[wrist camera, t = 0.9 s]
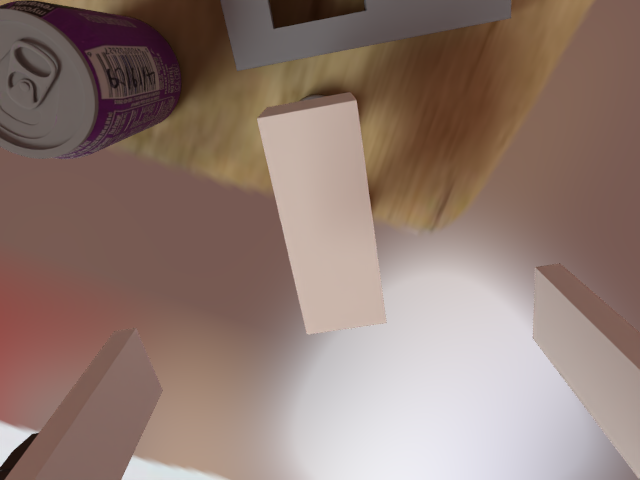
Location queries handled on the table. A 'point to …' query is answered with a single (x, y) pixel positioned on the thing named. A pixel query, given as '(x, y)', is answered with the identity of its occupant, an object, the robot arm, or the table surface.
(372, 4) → the keyhole board
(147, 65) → the beverage can
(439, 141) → the table surface
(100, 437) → the robot arm
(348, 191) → the bar
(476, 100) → the table surface
